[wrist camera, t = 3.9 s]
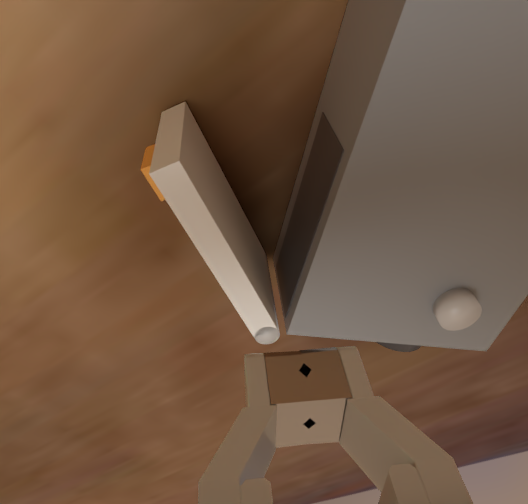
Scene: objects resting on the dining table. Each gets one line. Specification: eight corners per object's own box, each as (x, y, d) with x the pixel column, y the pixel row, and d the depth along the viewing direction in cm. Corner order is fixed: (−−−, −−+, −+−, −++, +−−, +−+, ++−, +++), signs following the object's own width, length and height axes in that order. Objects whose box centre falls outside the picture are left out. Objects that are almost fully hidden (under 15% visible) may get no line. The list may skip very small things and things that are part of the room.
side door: (146, 118, 22) (129, 182, 17) (185, 101, 21) (179, 160, 16) (238, 273, 28) (245, 352, 23) (270, 261, 27) (283, 339, 22)
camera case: (366, -66, 18) (434, -50, 13) (601, -1, 20) (742, 37, 15) (266, 276, 28) (280, 366, 23) (432, 294, 30) (480, 380, 25)
